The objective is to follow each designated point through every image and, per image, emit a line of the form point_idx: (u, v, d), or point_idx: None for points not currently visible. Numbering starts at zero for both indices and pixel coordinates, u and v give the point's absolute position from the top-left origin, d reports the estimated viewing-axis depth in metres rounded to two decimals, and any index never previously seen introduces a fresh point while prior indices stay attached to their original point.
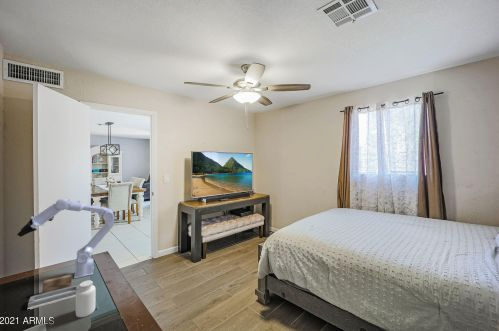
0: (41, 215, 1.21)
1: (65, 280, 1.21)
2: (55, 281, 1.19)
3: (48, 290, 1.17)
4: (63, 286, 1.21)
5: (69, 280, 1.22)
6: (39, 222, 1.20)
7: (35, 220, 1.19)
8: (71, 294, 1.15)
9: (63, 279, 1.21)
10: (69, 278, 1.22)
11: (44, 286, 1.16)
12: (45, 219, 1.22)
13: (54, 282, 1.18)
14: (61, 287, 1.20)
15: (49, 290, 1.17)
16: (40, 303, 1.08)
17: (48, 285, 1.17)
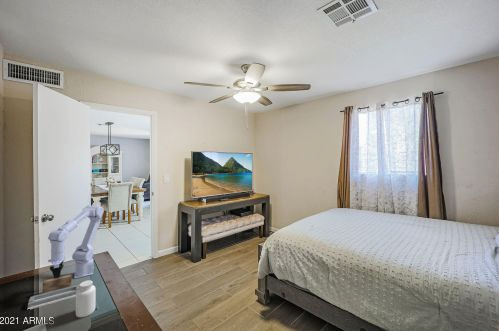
0: (53, 254, 1.16)
1: (65, 280, 1.21)
2: (55, 281, 1.19)
3: (48, 290, 1.17)
4: (63, 286, 1.21)
5: (69, 280, 1.22)
6: (59, 259, 1.18)
7: (54, 261, 1.16)
8: (71, 294, 1.15)
9: (63, 279, 1.21)
10: (69, 278, 1.22)
11: (44, 286, 1.16)
12: (60, 254, 1.18)
13: (54, 282, 1.18)
14: (61, 287, 1.20)
15: (49, 290, 1.17)
16: (40, 303, 1.08)
17: (48, 285, 1.17)
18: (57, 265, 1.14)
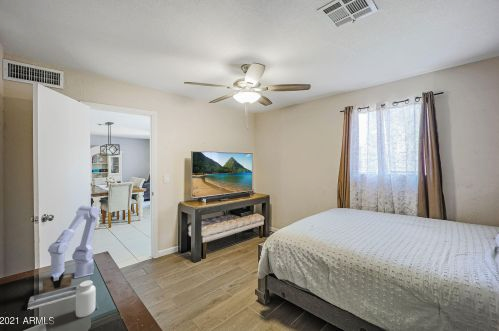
0: (53, 267, 1.17)
1: (65, 280, 1.21)
2: None
3: (48, 290, 1.17)
4: (63, 286, 1.21)
5: (69, 280, 1.22)
6: (59, 271, 1.18)
7: (54, 273, 1.17)
8: (71, 294, 1.15)
9: (63, 279, 1.21)
10: (69, 278, 1.22)
11: (44, 286, 1.16)
12: (60, 266, 1.18)
13: None
14: (61, 287, 1.20)
15: (49, 290, 1.17)
16: (40, 303, 1.08)
17: (48, 284, 1.17)
18: (57, 278, 1.14)
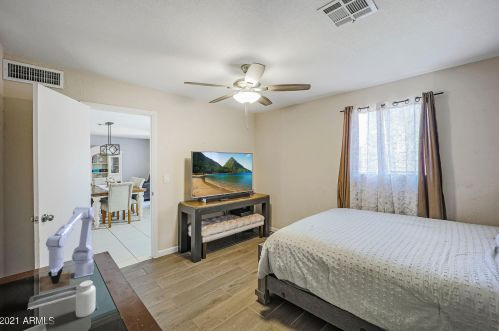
0: (51, 261, 1.10)
1: (64, 276, 1.14)
2: None
3: (45, 287, 1.10)
4: (61, 283, 1.14)
5: (68, 276, 1.16)
6: (57, 266, 1.11)
7: (52, 268, 1.10)
8: (71, 294, 1.15)
9: (61, 275, 1.14)
10: (68, 274, 1.15)
11: (41, 283, 1.09)
12: (59, 261, 1.12)
13: None
14: (59, 284, 1.14)
15: (46, 287, 1.10)
16: (40, 303, 1.08)
17: (45, 281, 1.10)
18: (55, 273, 1.08)
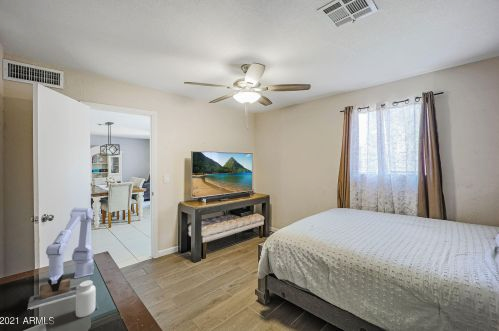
0: (51, 269, 1.10)
1: (64, 284, 1.15)
2: None
3: (45, 295, 1.10)
4: (61, 291, 1.14)
5: (68, 284, 1.16)
6: (57, 274, 1.12)
7: (52, 276, 1.10)
8: (71, 294, 1.15)
9: (61, 283, 1.14)
10: (68, 282, 1.16)
11: (41, 291, 1.09)
12: (59, 268, 1.12)
13: None
14: (59, 292, 1.14)
15: (46, 295, 1.11)
16: (40, 303, 1.08)
17: (45, 290, 1.10)
18: (55, 281, 1.08)
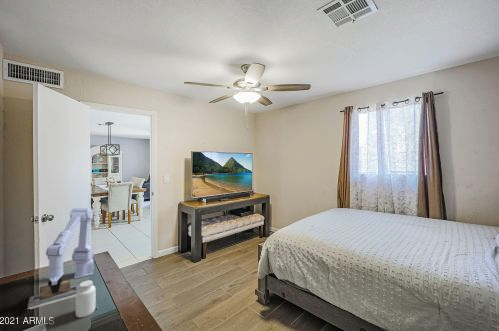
0: (51, 270, 1.10)
1: (64, 286, 1.15)
2: None
3: (45, 297, 1.11)
4: (61, 292, 1.14)
5: (68, 286, 1.16)
6: (57, 275, 1.12)
7: (52, 277, 1.10)
8: (71, 294, 1.15)
9: (61, 285, 1.14)
10: (68, 284, 1.16)
11: (41, 293, 1.09)
12: (59, 269, 1.12)
13: None
14: (59, 293, 1.14)
15: (46, 297, 1.11)
16: (40, 303, 1.08)
17: (45, 291, 1.10)
18: (55, 282, 1.08)
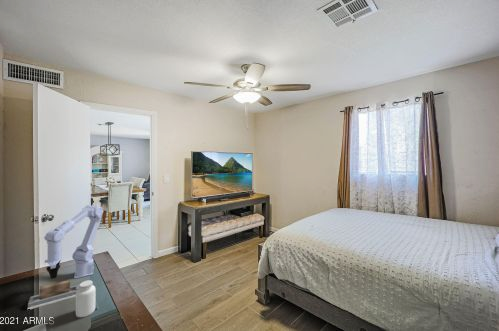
0: (50, 255, 1.16)
1: (64, 286, 1.15)
2: (53, 287, 1.12)
3: (45, 297, 1.11)
4: (61, 292, 1.14)
5: (68, 286, 1.16)
6: (55, 259, 1.17)
7: (50, 261, 1.16)
8: (71, 294, 1.15)
9: (61, 285, 1.14)
10: (68, 284, 1.16)
11: (41, 293, 1.09)
12: (57, 254, 1.17)
13: (52, 288, 1.12)
14: (59, 293, 1.14)
15: (46, 297, 1.11)
16: (40, 303, 1.08)
17: (45, 291, 1.10)
18: (54, 265, 1.13)
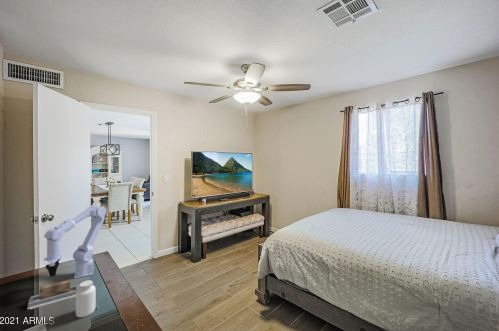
0: (49, 253, 1.17)
1: (64, 286, 1.15)
2: (53, 287, 1.12)
3: (45, 297, 1.11)
4: (61, 292, 1.14)
5: (68, 286, 1.16)
6: (55, 257, 1.19)
7: (50, 259, 1.18)
8: (71, 294, 1.15)
9: (61, 285, 1.14)
10: (68, 284, 1.16)
11: (41, 293, 1.09)
12: (56, 252, 1.19)
13: (52, 288, 1.12)
14: (59, 293, 1.14)
15: (46, 297, 1.11)
16: (40, 303, 1.08)
17: (45, 291, 1.10)
18: (53, 263, 1.15)
